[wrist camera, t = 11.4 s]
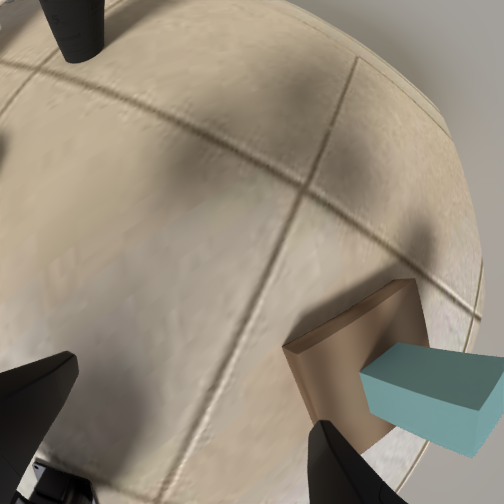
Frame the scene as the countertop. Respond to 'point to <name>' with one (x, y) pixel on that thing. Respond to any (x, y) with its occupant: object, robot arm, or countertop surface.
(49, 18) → the drinking cup
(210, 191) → the countertop surface
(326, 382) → the walnut base
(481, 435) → the teal block
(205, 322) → the countertop surface
